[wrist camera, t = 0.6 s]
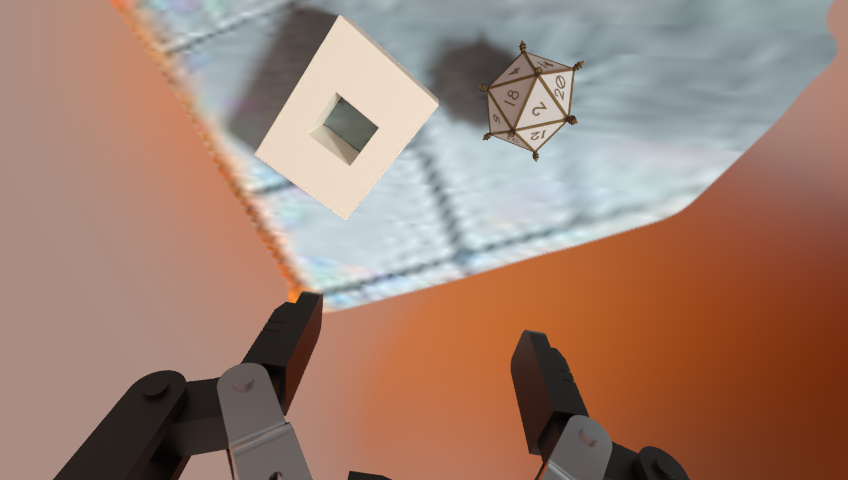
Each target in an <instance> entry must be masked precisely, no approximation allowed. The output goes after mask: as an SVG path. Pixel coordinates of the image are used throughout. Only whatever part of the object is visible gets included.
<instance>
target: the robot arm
mask: <svg viewBox="0 0 848 480" xmlns="http://www.w3.org/2000/svg"><path fill="white" fill-rule="evenodd" d="M322 308H323V294H318V293H312V292H306V291H303V292H302V293H301V295H300V296H299V298H298V300H297V302H296V303H290V302H285V303H284V304H282V305H281V306H279V307H278V308H277V309H275V310H274V312H273V314H272V315H271V317H270V318H269V320H268V322H267V323H266V325H265V326H264V328H263V330H262V331H261V332H260V334H259V336H258V337H257V339H256V340H255V342H254V343H253V345H252V346H251V348H250V350H249V351H248V353H247V354H246V356H245V358H244V359H243V361H242V362H241V363H240V364H239V365H236V366H234V367H232V368H230V369H228V370H227V371H226V372H225V373H224V374H223V375H222V376H221V377H218V378H214V379H207V380H199V381H190V382H186V380H185V378H184V376H183V375H182V374H180V373H179V372H176V371H170V370H165V371H158V372H154V373H151V374H149V375H146V376H145V377H143V378H141V379H139V380H138V381H137V382H135V383H134V384H133V385H132V386H131V387H130V388H129V389H128V391H127V392H126V393H125V394H124V395H123V397H122V398H121V399H120V400H119V401H118V403H117V404H116V405H115V406H114V407H113V409H112V410H111V411H110V412H109V413H108V415H107V416H106V417H105V418H104V419H103V420H102V422H101V423H100V424H99V425H98V427H97V428H96V429H95V430H94V431H93V432H92V434H91V435H90V436H89V437H88V438H87V440H86V441H85V442H84V443H83V444H82V446H81V447H80V448H79V449H78V450H77V452H76V453H75V454H74V455H73V456H72V458H71V459H70V460H69V461H68V462H67V463H66V465H65V466H64V467H63V468H62V469H61V471H60V472H59V473H58V474H57V475H56V477H55V478H54V479H53V480H178V479H179V477H180V475H181V474H182V472H183V470H184V468H185V466H186V464H187V462H188V461H189V459H190V457H191V455H196V454H202V453H208V452H213V451H219V450H224V449H225V450H226V454H227V459H228V464H229V468H230V473H231V478H232V480H313V479H312V477H311V474H310V471H309V469H308V466H307V463H306V461H305V458H304V455H303V453H302V450H301V448H300V445H299V442H298V439H297V437H296V434H295V432H294V429H293V427H292V425H291V424H290V423H289V422H288V423H287V422H286V421H285V418H284V416H286V414H287V412H288V410H289V407H290V405H291V402H292V400H293V398H294V395H295V393H296V390H297V388H298V385H299V383H300V381H301V379H302V376H303V374H304V371H305V369H306V367H307V364H308V362H309V359H310V357H311V355H312V352H313V350H314V347H315V345H316V343H317V340H318V337H319V334H320V330H321V323H322ZM511 374H512V379H513V384H514V388H515V392H516V396H517V401H518V406H519V410H520V414H521V418H522V423H523V427H524V432H525V436H526V441H527V445H528V450H529V454H535V455H541V457H542V461H543V464H542V465H541V467H540V469H539V471H538V473H537V475H536V477H535V479H534V480H690V479H689V478H688V476H687V474H686V472H685V471H684V469H683V468H682V467H681V465H680V464H679V463H678V462H677V461H676V460H675V459H674V458H673V457H672V456H670V455H669V454H668V453H666V452H664V451H663V450H661V449H659V448H656V447H651V446H647V447H644V448H642V449H641V451H640V452H639V453H636V452H634V451H632V450H629V449H627V448H625V447H623V446H621V445H618V444H616V443H614V442H612V441H611V439H610V437H609V435H608V433H607V432H606V431H605V429H603V427H602V426H601V425H599V423H597V422H596V421H594V420H593V419H591V418H590V417H589V415H588V412H587V410H586V407H585V405H584V403H583V400H582V398H581V396H580V394H579V391H578V388H577V386H576V383H574V379H573V376H572V374H571V373H570V369H569V367H568V364H567V362H566V360H565V358H564V357H563V356H562V355H561V353H560V352H559V351H558V350H557V349H556V348H551V347H550V344H549V342H548V340H547V337H546V335H545V334H544V333H541V332H535V331H529V330H524V332H523V333H522V335H521V338H520V340H519V342H518V345H517V347H516V349H515V352H514V354H513V356H512V360H511ZM283 415H284V416H283ZM348 480H391V479H389V478H387V477H384V476H382V475H374V474H367V473H361V472H353V471H349V476H348Z"/></svg>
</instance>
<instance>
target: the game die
mask: <svg viewBox="0 0 848 480" xmlns="http://www.w3.org/2000/svg"><path fill="white" fill-rule="evenodd" d="M525 45H526V44H525V43H524V42H523V41H521V44H520V46H519V47H520V50H521V54H520V55H519V56H518V57H517V58H516V59H515V60H514V61H513V62H512V63H511V64H510V65H509V66H508V67H507V68H506V69H505V70H504V71H503V72H502V73H501V74H500V75H499V76H498V77H497V78H496V79H495V80H494V81H493V82H492V83H491V84H490V85H489V86H488V87H487V86H486V85H484V84H481V85H477V86H478V87H479V88H480V91H481V90H482V91H483V92H484V91H486V92H487V104H488V117H489V129H490V132H489V133H486V135H484V138H483V140H488V139H489V138H490V137H491V136H495V137H497V138H500V139H502V140H505V141H507V142H510V143H512V144H515V145H517V146H520V147H522V148H525V149H527V150H529V151H532V152H533V155H532V156H533V159H534V160H535V161H537V159H538V155H539V154H538V153H537V151H538V150H539V149H540V148H541V147H542V146H543V145H544V144H545V143H546V142H547V141H548V140H549V139H550V138H551V137H552V136H553V135H554V134H555V133H556V132H557V131H558V130H559V129H560V128H561V127H562V126H563V125H564V124H565V123H566V122H569V124H571V125H573V124H575V123H578V122H577V121H576V117H575V116H572V115H571V116H570V110H571V101H572V92H573V82H574V73H575V71H576V70H579V69H580V68H582V65H583V63H584V61H582V62H577V64H575V66H574V67H573V68H571V67H568V66H566V65H563V64H560V63H557V62H554V61H551V60H548V59H545V58H542V57H539V56H536V55H533V54H531V53H528V52H525V49H526V47H525Z"/></svg>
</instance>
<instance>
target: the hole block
mask: <svg viewBox="0 0 848 480" xmlns="http://www.w3.org/2000/svg"><path fill="white" fill-rule="evenodd" d="M341 97H343V98H344V99H345V100H346V101H348V102H349V103H350V104H351V105H352V106H354V107H355V108H356V109H357V110H358V111H360V112H361V113H362V114H363V115H364V116H366V117H367V118H368V119H369V120H370V121H372V122H373V123H374V124H375V125H376V126H378V127H379V128H378V130H377V131H376V132H375V134H374V135H373V136H372V138H371V139H370V140H369V142H368V143H367V144H366V146H365V147H364V148H363V150H362V151H361V152H360V153H359V152H358V151H357V150H355V149H354V148H353V147H352V146H350V145H349V144H348V143H346V142H345V141H344V140H343V139H341V138H340V137H339V136H338V135H336V134H335V133H334V132H333V131H331V130H330V129H329V128H328V127H326V126H325V125H324V123H325V121H326V120H327V118H328V117H329V115H330V114H331V112H332V111H333V109H334V108H335V106H336V105H337V103H338V102H339V100H340V99H341ZM438 105H439V101H438V98H437V97H436V96H435V95H434V94H433V93H432V92H431V91H430V90H428V89H427V88H426V87H425V86H424V85H423V84H422V83H421V82H420V81H419V80H418V79H416V78H415V77H414V76H413V75H412V74H411V73H410V72H409V71H408V70H407V69H405V68H404V67H403V66H402V65H401V64H400V63H399V62H398V61H397V60H396V59H395V58H393V57H392V56H391V55H390V54H389V53H388V52H387V51H386V50H385V49H384V48H382V47H381V46H380V45H379V44H378V43H377V42H376V41H375V40H374V39H373V38H372V37H370V36H369V35H368V34H367V33H366V32H365V31H364V30H363V29H362V28H361V27H360V26H358V25H357V24H356V23H355V22H354V21H353V20H351V19H348V18H346V17H344V16H342V15H339V17H338V18H337V20H336V21H335V23H334V25H333V26H332V28H331V30H330V31H329V33H328V35H327V36H326V38H325V40H324V41H323V43H322V44H321V46H320V48H319V49H318V51H317V53H316V54H315V56H314V58H313V59H312V61H311V63H310V64H309V66H308V67H307V69H306V71H305V72H304V74H303V76H302V77H301V79H300V81H299V82H298V84H297V86H296V87H295V89H294V91H293V92H292V94H291V95H290V97H289V99H288V100H287V102H286V104H285V105H284V107H283V109H282V110H281V112H280V114H279V115H278V117H277V118H276V120H275V122H274V123H273V125H272V127H271V128H270V130H269V132H268V133H267V135H266V137H265V138H264V140H263V141H262V143H261V145H260V146H259V148H258V150H257V151H256V153H255V156H256V157H258V158H259V159H261V160H262V161H263V162H265V163H266V164H268V165H269V166H270V167H272V168H273V169H275V170H276V171H277V172H279V173H280V174H282V175H283V176H284V177H286V178H287V179H289V180H290V181H291V182H293V183H294V184H296V185H297V186H298V187H300V188H301V189H303V190H304V191H305V192H307V193H308V194H310V195H311V196H312V197H314V198H315V199H317V200H318V201H319V202H321V203H322V204H324V205H325V206H326V207H328V208H329V209H331V210H332V211H333V212H335V213H336V214H338V215H339V216H340V217H342V218H343V219H345V220H346V219H347V218H348V217H349V216H350V214H351V213H352V212H353V211H354V209H355V208H356V207H357V206H358V204H359V203H360V202H361V201H362V200H363V198H364V197H365V196H366V195H367V193H368V192H369V191H370V190H371V188H372V187H373V186H374V185H375V183H376V182H377V181H378V180H379V178H380V177H381V176H382V175H383V174H384V172H385V171H386V170H387V169H388V167H389V166H390V165H391V164H392V162H393V161H394V160H395V159H396V157H397V156H398V155H399V154H400V152H401V151H402V150H403V149H404V147H405V146H406V145H407V144H408V143H409V141H410V140H411V139H412V138H413V136H414V135H415V134H416V133H417V131H418V130H419V129H420V128H421V126H422V125H423V124H424V123H425V121H426V120H427V119H428V118H429V116H430V115H431V114H432V113H433V112H434V110H435V109H436V108H437V107H438Z"/></svg>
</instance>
